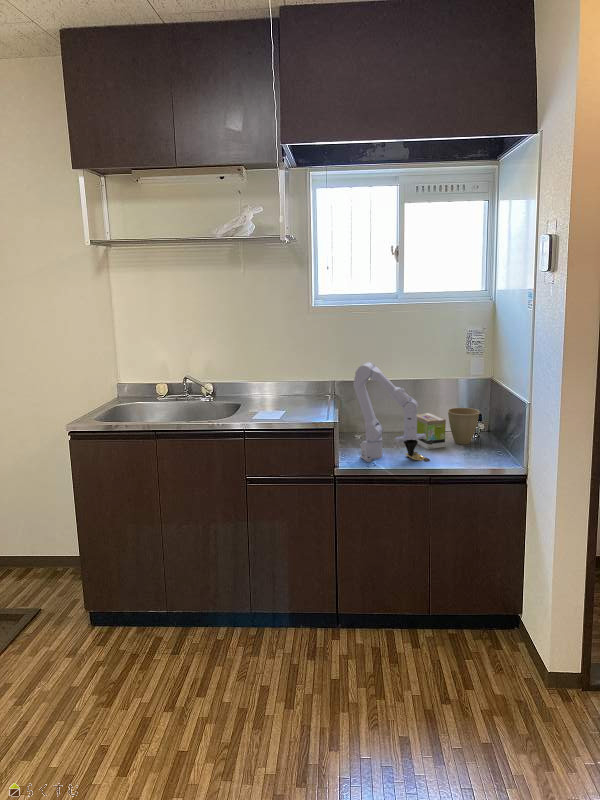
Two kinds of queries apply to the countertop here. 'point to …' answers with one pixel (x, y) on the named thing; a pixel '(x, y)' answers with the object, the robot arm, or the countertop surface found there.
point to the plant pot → (463, 424)
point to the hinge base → (424, 458)
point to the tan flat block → (416, 456)
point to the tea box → (431, 430)
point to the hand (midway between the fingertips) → (410, 455)
